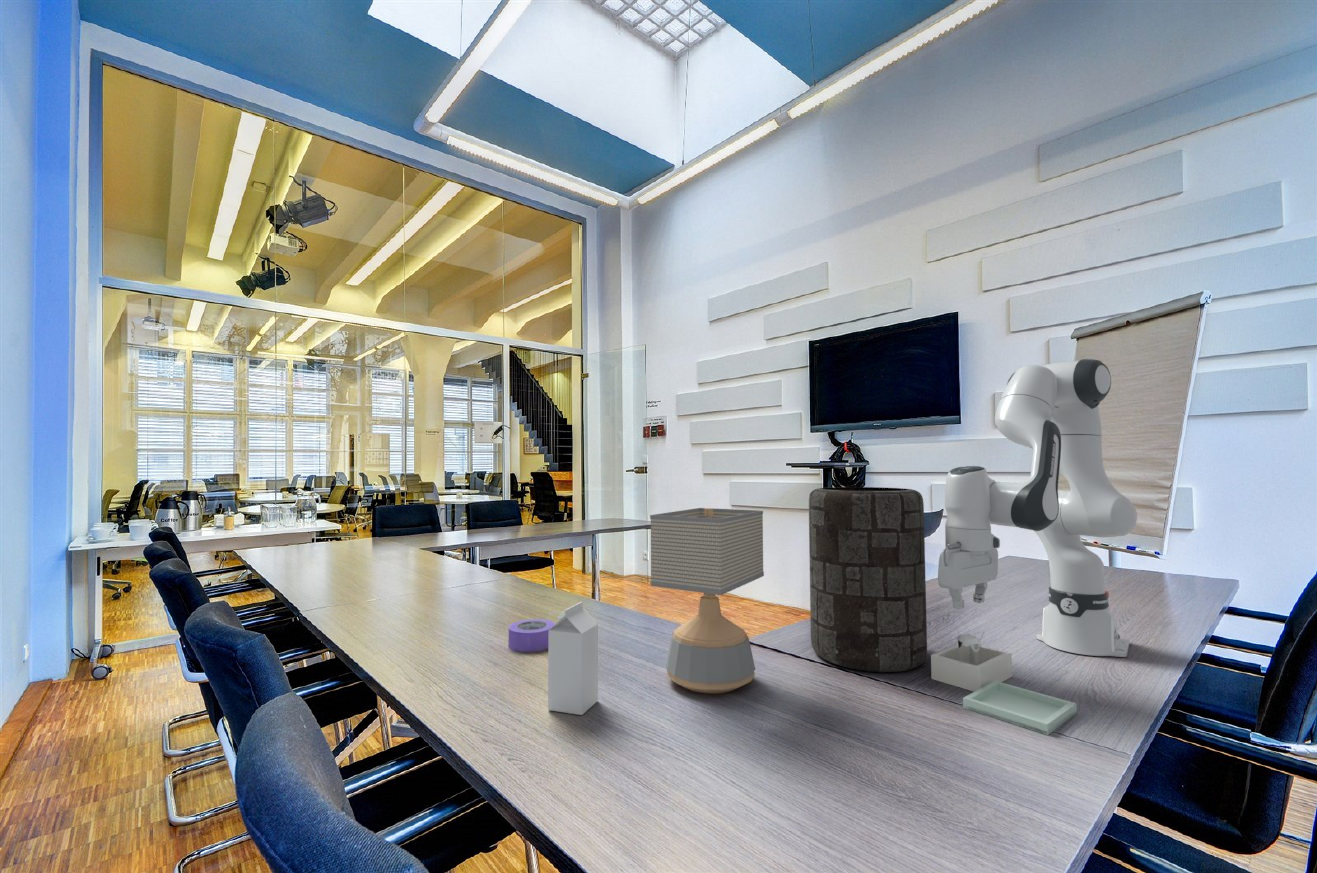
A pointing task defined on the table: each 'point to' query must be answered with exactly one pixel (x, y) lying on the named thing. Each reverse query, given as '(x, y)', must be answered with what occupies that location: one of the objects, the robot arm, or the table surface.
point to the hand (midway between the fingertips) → (968, 605)
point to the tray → (1021, 707)
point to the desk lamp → (708, 591)
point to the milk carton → (573, 662)
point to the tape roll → (529, 635)
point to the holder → (971, 668)
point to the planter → (868, 577)
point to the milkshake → (969, 648)
